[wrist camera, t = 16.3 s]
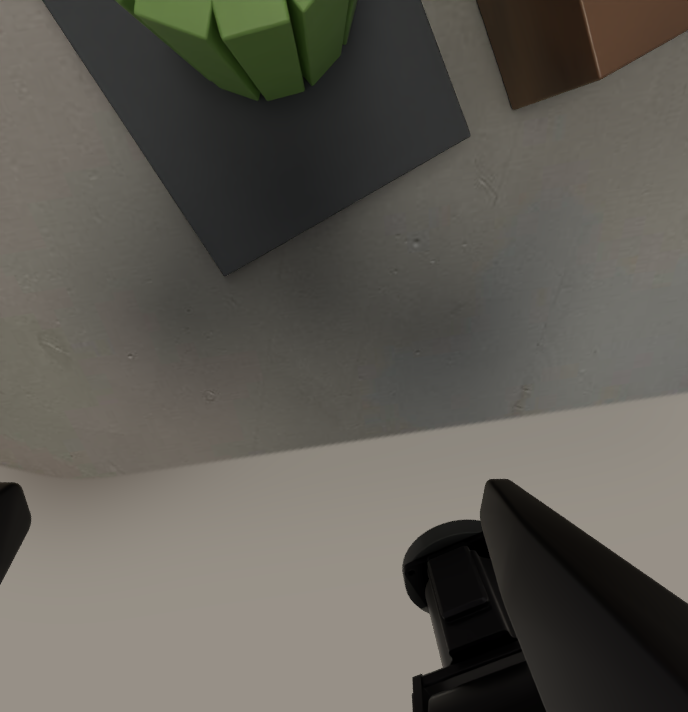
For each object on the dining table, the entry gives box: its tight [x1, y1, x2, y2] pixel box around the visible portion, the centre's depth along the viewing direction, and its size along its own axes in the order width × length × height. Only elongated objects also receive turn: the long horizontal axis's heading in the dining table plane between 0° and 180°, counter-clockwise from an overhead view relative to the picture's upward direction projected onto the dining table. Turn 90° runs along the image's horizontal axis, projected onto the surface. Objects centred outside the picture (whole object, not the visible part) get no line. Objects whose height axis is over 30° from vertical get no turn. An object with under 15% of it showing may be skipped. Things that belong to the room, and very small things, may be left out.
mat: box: [42, 0, 470, 276], centre depth 16 cm, size 14×12×1 cm
